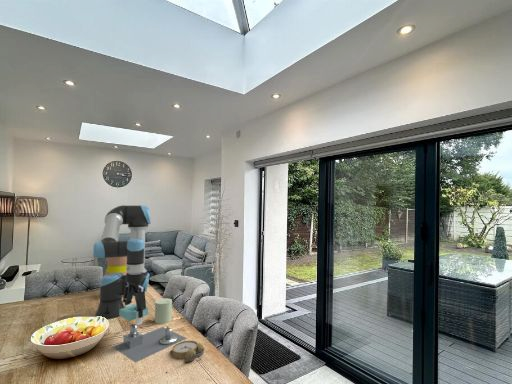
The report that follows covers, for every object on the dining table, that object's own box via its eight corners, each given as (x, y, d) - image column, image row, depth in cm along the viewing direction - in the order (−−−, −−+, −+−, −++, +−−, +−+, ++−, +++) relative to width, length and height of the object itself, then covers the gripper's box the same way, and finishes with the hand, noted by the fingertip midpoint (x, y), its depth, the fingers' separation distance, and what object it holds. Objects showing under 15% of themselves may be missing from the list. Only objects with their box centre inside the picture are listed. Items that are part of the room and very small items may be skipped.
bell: (155, 341, 129) (156, 327, 130) (170, 335, 136) (170, 321, 136) (166, 346, 124) (166, 332, 125) (180, 340, 131) (180, 326, 131)
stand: (123, 344, 126) (123, 325, 126) (135, 339, 131) (136, 321, 131) (129, 348, 122) (130, 329, 123) (142, 343, 127) (143, 324, 128)
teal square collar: (119, 315, 127) (119, 309, 127) (137, 309, 134) (138, 303, 134) (129, 321, 121) (129, 314, 121) (148, 314, 128) (148, 308, 128)
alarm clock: (184, 338, 128) (209, 340, 121) (185, 350, 127) (211, 352, 121) (165, 350, 118) (192, 352, 111) (167, 362, 117) (194, 365, 111)
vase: (94, 298, 191) (96, 254, 192) (115, 289, 212) (117, 249, 214) (123, 300, 187) (124, 255, 189) (141, 290, 209) (143, 250, 210)
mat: (112, 348, 124) (112, 346, 124) (162, 328, 145) (162, 327, 145) (135, 364, 112) (135, 362, 112) (186, 340, 132) (187, 338, 132)
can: (166, 326, 147) (167, 303, 148) (151, 324, 149) (151, 302, 150) (174, 319, 156) (175, 298, 157) (160, 318, 158) (160, 296, 159)
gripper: (115, 270, 132) (114, 317, 131) (139, 278, 119) (138, 331, 118) (130, 267, 138) (129, 312, 137) (155, 274, 125) (154, 325, 124)
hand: (133, 321), depth 127 cm, fingers closed on teal square collar, 9 cm apart
